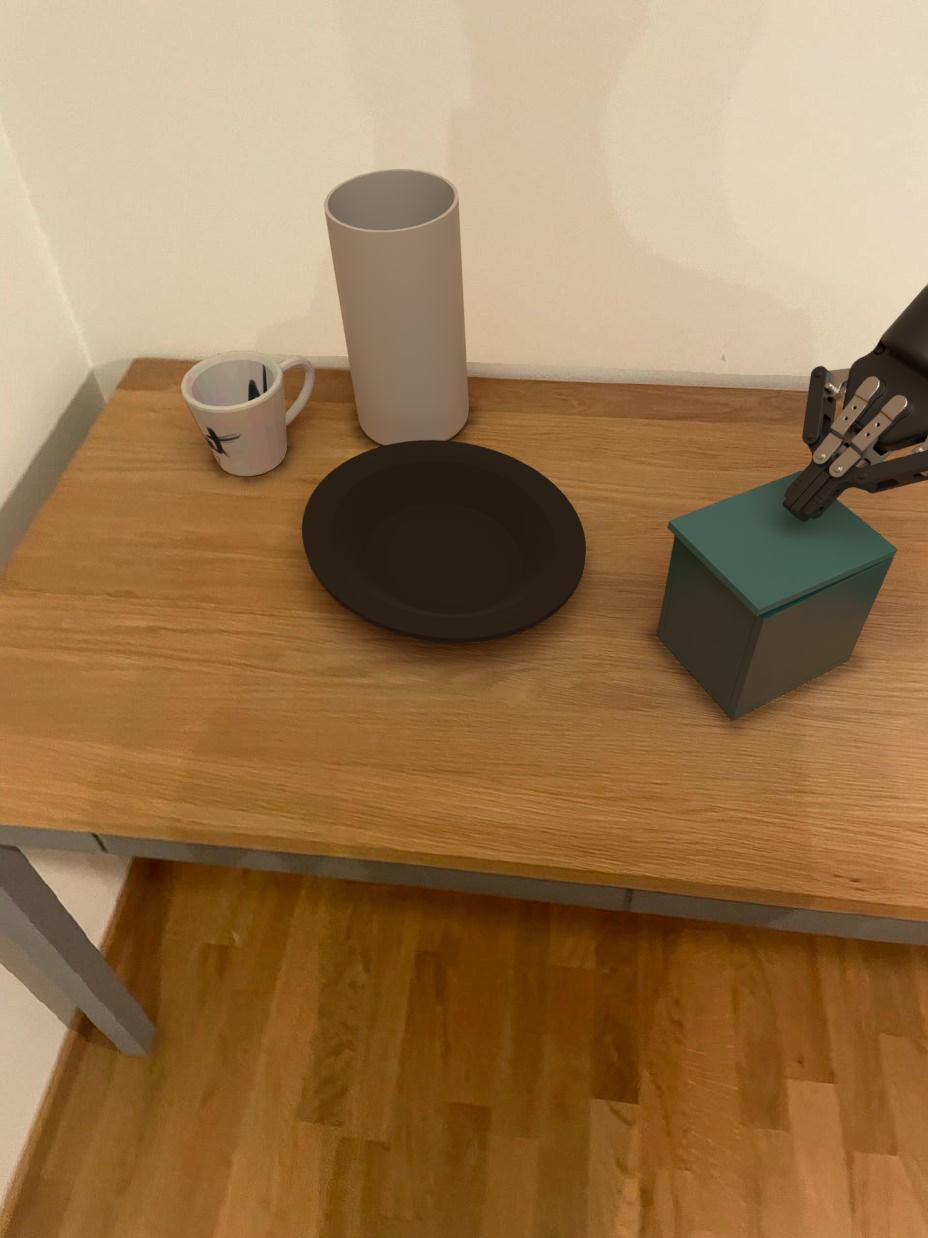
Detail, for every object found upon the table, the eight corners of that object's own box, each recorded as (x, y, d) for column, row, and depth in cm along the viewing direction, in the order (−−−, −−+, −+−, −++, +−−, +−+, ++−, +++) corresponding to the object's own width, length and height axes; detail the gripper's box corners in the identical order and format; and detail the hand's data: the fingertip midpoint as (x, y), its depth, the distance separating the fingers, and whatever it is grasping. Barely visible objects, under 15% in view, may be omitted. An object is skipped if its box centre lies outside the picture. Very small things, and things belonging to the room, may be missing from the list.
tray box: (732, 720, 77) (763, 620, 67) (656, 635, 83) (674, 532, 73) (848, 660, 80) (894, 556, 70) (767, 582, 86) (799, 477, 77)
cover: (756, 617, 66) (759, 609, 65) (666, 528, 72) (668, 520, 71) (894, 556, 70) (898, 548, 70) (799, 477, 76) (801, 469, 76)
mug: (187, 455, 102) (160, 378, 95) (296, 396, 108) (280, 320, 101) (238, 500, 97) (215, 423, 89) (351, 436, 103) (337, 359, 96)
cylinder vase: (358, 390, 109) (324, 174, 90) (463, 380, 109) (452, 163, 90) (360, 458, 101) (323, 237, 82) (474, 447, 101) (464, 225, 82)
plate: (258, 566, 91) (245, 525, 86) (433, 449, 101) (429, 407, 97) (460, 730, 77) (456, 690, 73) (638, 575, 88) (644, 533, 83)
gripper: (1065, 385, 62) (874, 580, 68) (915, 296, 70) (756, 478, 76) (1042, 341, 56) (837, 557, 62) (882, 250, 64) (713, 449, 70)
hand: (793, 513), depth 69 cm, fingers closed
